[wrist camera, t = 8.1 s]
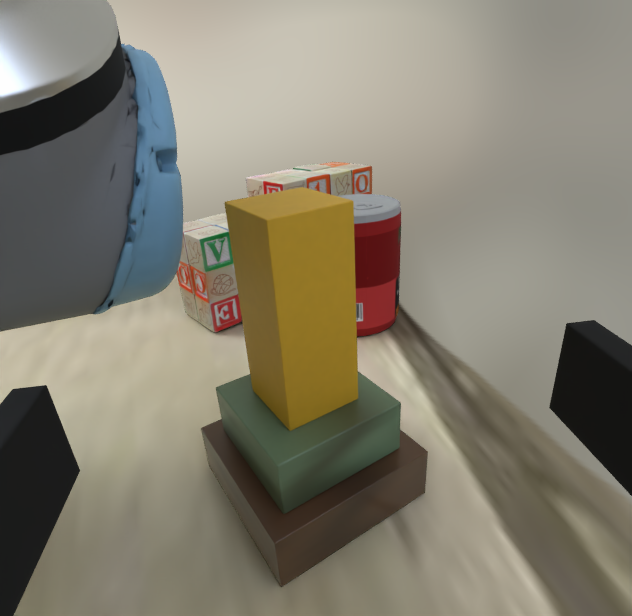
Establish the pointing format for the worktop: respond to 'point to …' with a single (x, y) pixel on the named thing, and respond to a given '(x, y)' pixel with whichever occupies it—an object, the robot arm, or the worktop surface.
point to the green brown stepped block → (312, 472)
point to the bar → (297, 299)
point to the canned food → (376, 261)
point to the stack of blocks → (215, 248)
